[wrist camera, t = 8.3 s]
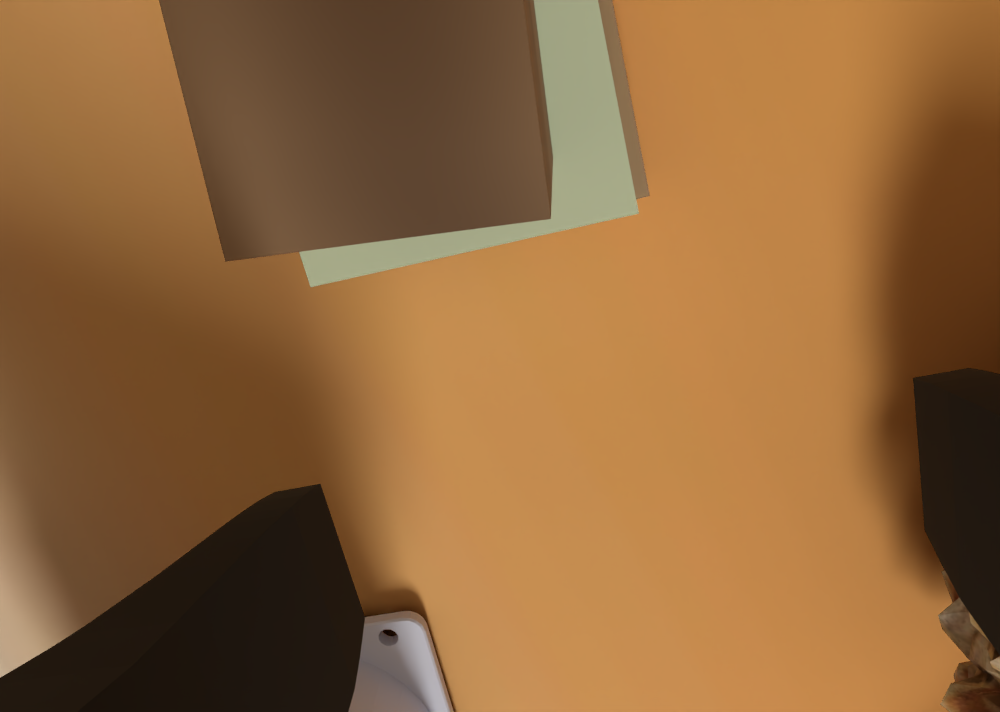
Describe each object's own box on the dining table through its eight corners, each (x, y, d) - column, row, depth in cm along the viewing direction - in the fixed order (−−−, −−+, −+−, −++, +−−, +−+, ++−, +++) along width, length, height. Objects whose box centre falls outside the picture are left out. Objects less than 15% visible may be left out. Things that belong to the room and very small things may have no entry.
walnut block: (324, 188, 16) (225, 261, 11) (271, -62, 14) (133, -98, 10) (553, 156, 15) (551, 218, 11) (520, -104, 14) (501, -164, 9)
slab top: (340, 252, 19) (311, 286, 17) (244, -57, 17) (195, -67, 15) (627, 186, 18) (638, 213, 16) (563, -146, 16) (564, -172, 14)
